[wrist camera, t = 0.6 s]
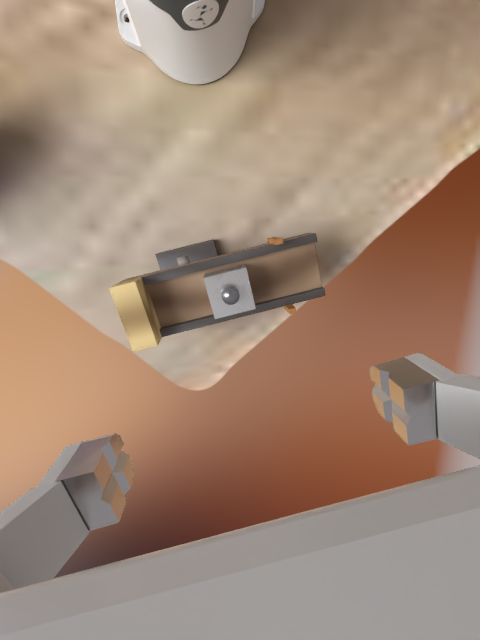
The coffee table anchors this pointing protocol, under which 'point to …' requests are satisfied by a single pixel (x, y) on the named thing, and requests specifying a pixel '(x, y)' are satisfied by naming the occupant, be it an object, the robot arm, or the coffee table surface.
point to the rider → (229, 291)
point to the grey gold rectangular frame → (191, 294)
